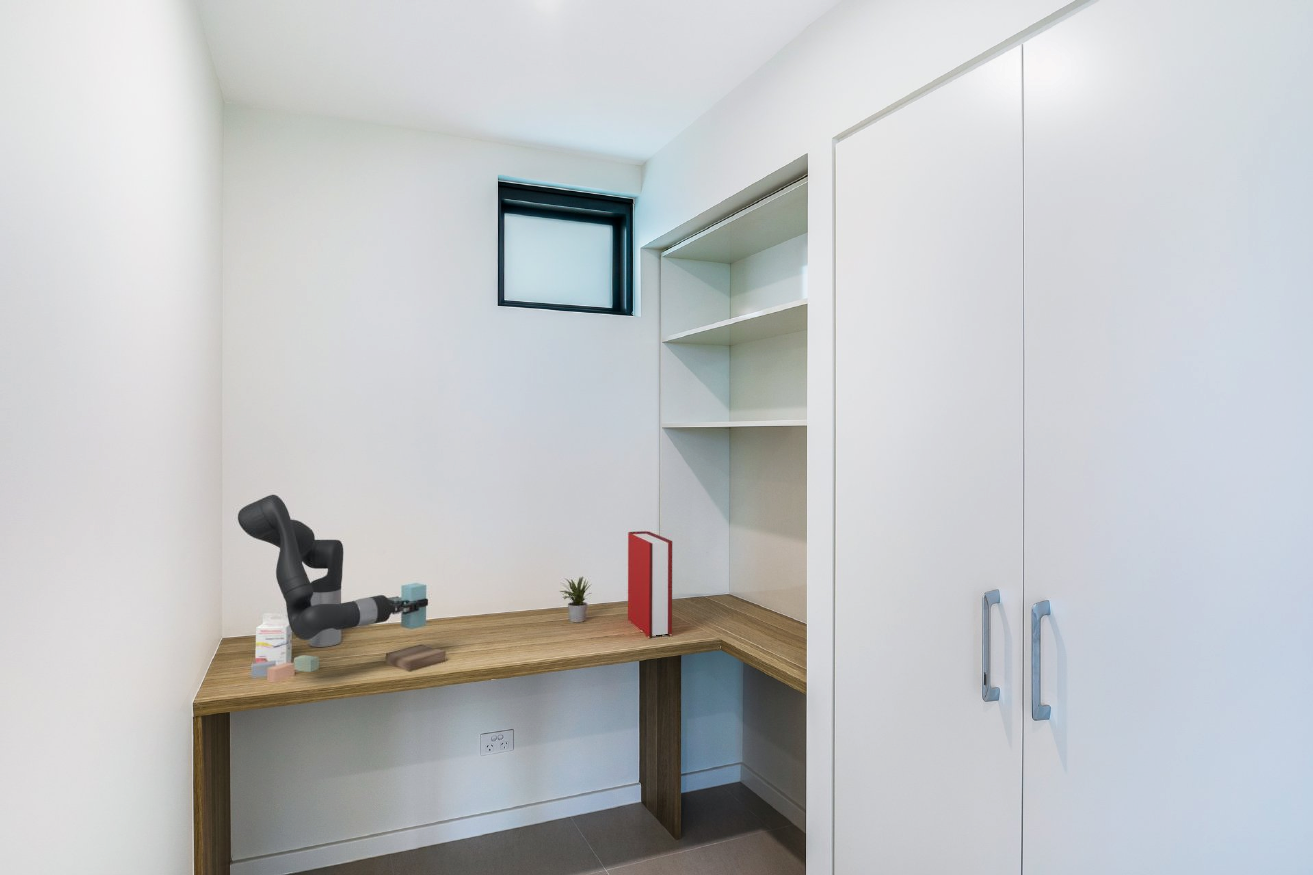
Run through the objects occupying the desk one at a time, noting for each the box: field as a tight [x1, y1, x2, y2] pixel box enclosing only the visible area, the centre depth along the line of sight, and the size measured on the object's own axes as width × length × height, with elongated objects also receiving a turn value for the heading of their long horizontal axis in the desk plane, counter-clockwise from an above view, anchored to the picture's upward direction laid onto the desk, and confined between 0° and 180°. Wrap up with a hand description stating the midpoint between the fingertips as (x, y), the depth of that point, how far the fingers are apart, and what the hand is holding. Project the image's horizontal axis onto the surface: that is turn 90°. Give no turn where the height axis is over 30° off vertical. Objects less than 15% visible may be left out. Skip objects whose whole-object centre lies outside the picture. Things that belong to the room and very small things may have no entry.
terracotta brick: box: [267, 662, 296, 683], centre depth 202 cm, size 6×3×4 cm, turn 153°
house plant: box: [559, 576, 591, 623], centre depth 268 cm, size 14×14×16 cm
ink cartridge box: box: [254, 612, 293, 665], centre depth 214 cm, size 9×5×15 cm, turn 99°
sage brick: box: [293, 654, 320, 673], centre depth 210 cm, size 6×3×4 cm, turn 72°
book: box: [627, 530, 673, 638], centre depth 258 cm, size 27×8×32 cm, turn 18°
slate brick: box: [250, 661, 276, 679], centre depth 205 cm, size 6×3×4 cm, turn 118°
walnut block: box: [385, 643, 447, 672], centre depth 217 cm, size 12×12×3 cm
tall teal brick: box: [400, 582, 427, 630], centre depth 216 cm, size 5×5×12 cm
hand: (421, 600), depth 218 cm, fingers closed on tall teal brick, 5 cm apart
